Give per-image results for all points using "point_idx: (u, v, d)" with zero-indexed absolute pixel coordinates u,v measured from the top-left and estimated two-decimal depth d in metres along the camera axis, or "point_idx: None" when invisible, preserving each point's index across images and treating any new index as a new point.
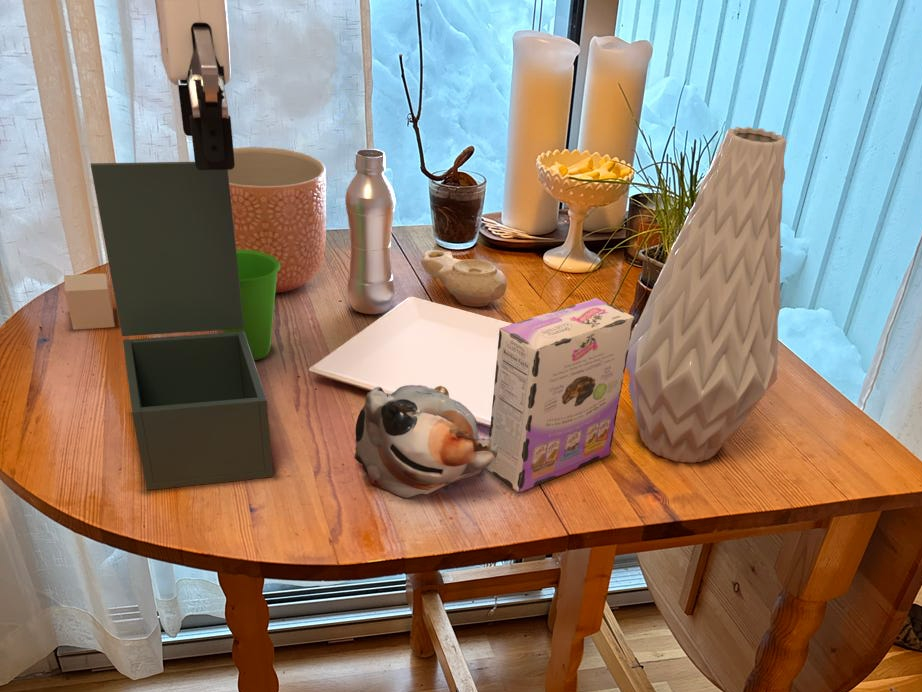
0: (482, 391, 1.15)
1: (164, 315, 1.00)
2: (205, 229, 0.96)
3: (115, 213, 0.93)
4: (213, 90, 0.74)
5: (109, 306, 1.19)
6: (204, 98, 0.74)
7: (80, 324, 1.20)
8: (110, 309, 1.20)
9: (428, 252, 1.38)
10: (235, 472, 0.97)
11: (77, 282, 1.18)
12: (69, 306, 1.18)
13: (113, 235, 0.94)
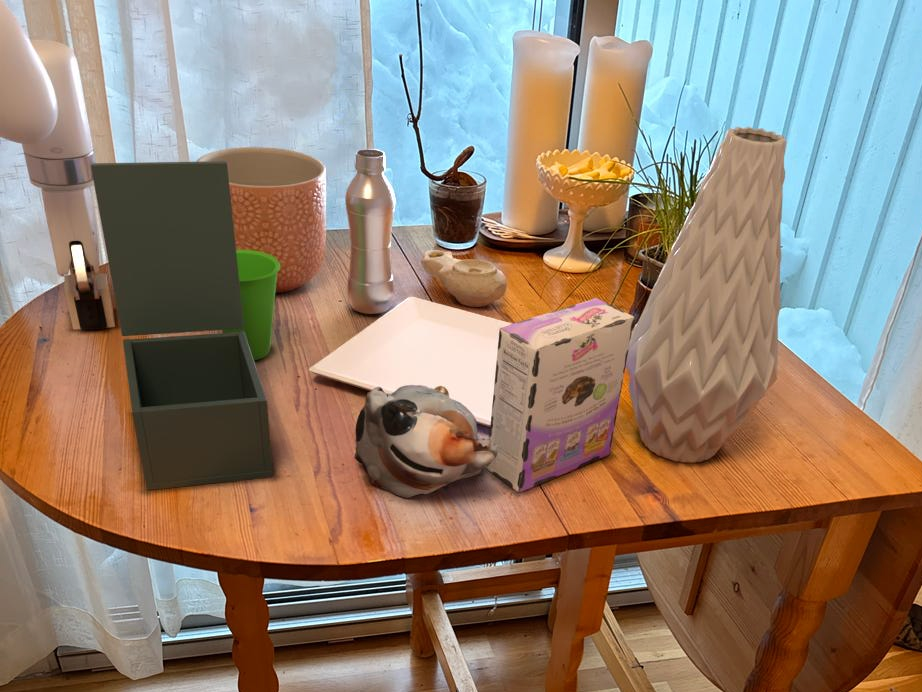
0: (482, 391, 1.15)
1: (164, 315, 1.00)
2: (205, 229, 0.96)
3: (115, 213, 0.93)
4: (86, 290, 1.14)
5: (109, 306, 1.19)
6: (80, 290, 1.14)
7: None
8: (110, 309, 1.20)
9: (428, 252, 1.38)
10: (235, 472, 0.97)
11: None
12: (69, 306, 1.18)
13: (113, 235, 0.94)
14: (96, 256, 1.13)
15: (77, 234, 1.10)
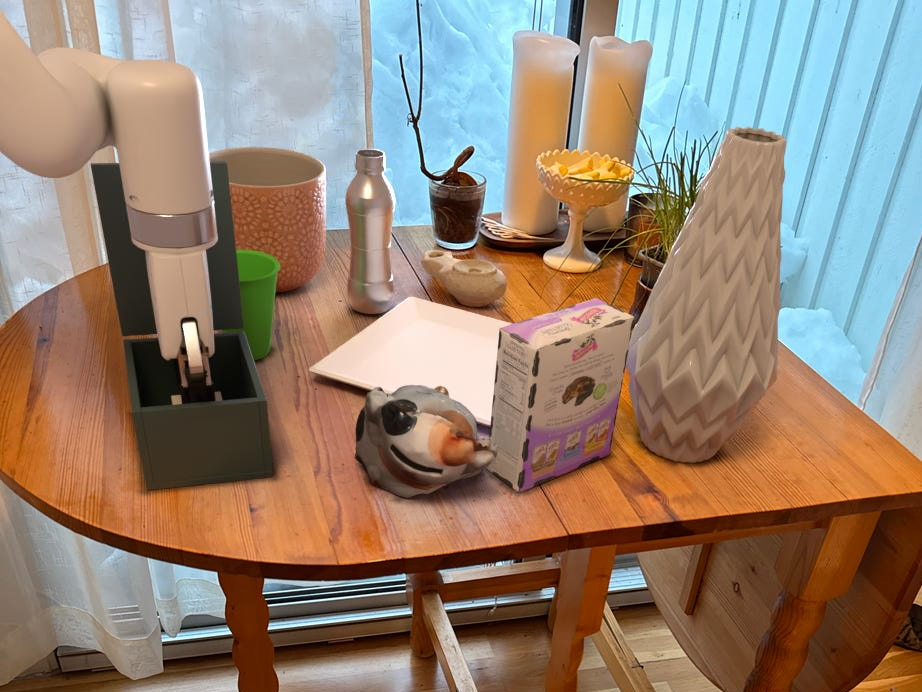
0: (482, 391, 1.15)
1: None
2: None
3: (115, 213, 0.93)
4: (199, 377, 0.88)
5: None
6: (191, 379, 0.89)
7: None
8: None
9: (428, 252, 1.38)
10: (235, 472, 0.97)
11: None
12: None
13: (113, 235, 0.94)
14: (212, 335, 0.88)
15: (191, 309, 0.86)
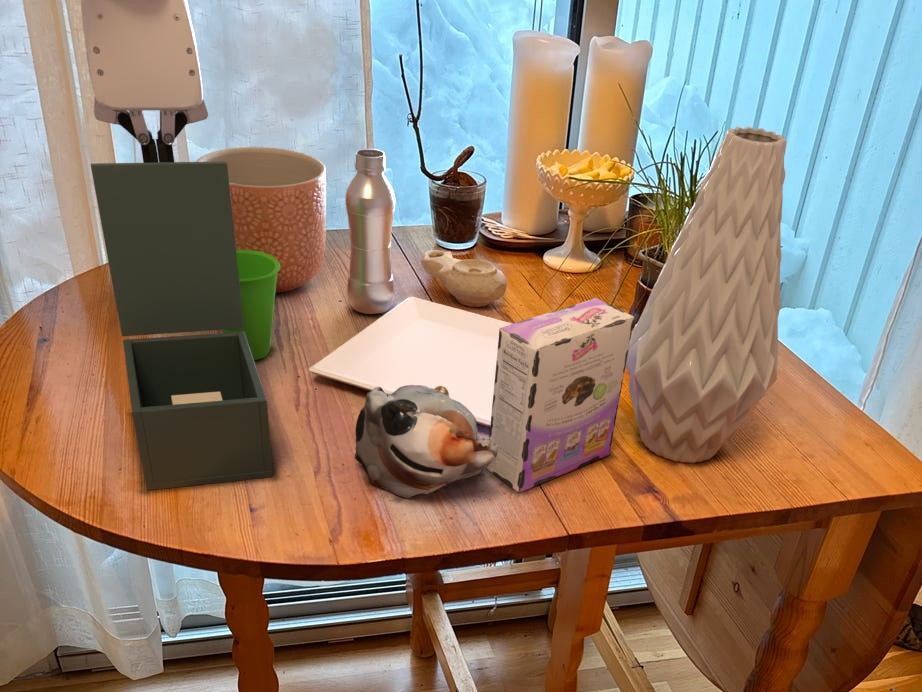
0: (482, 391, 1.15)
1: (164, 315, 1.00)
2: (205, 229, 0.96)
3: (115, 213, 0.92)
4: (113, 122, 0.93)
5: None
6: None
7: None
8: None
9: (428, 252, 1.38)
10: (235, 472, 0.97)
11: None
12: None
13: (113, 235, 0.94)
14: (96, 81, 0.89)
15: (85, 43, 0.88)
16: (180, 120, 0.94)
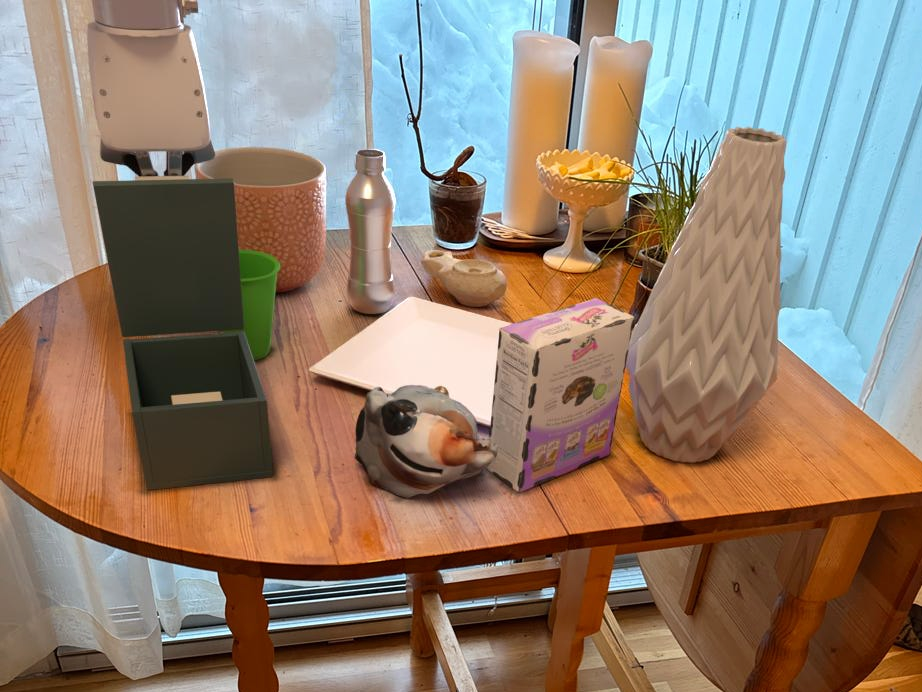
0: (482, 391, 1.15)
1: (165, 319, 0.99)
2: (209, 243, 0.94)
3: (117, 229, 0.90)
4: (120, 163, 0.92)
5: None
6: None
7: None
8: None
9: (428, 252, 1.38)
10: (235, 472, 0.97)
11: None
12: None
13: (115, 248, 0.92)
14: (103, 123, 0.87)
15: (92, 85, 0.87)
16: (187, 160, 0.93)
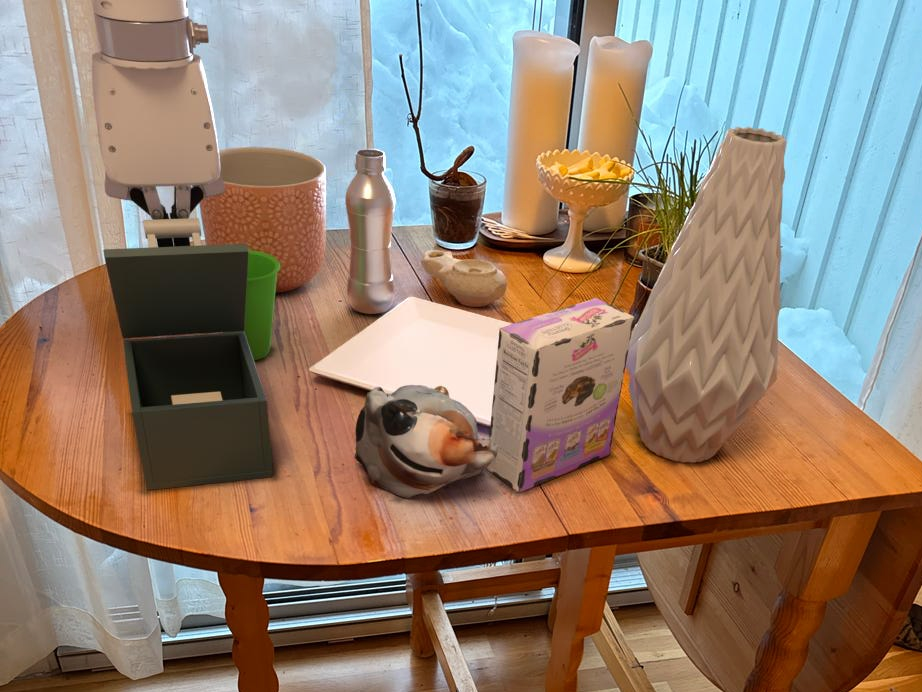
0: (482, 391, 1.15)
1: (166, 327, 0.99)
2: (217, 285, 0.93)
3: (126, 281, 0.89)
4: (125, 198, 0.87)
5: None
6: None
7: None
8: None
9: (428, 252, 1.38)
10: (235, 472, 0.97)
11: None
12: None
13: (122, 291, 0.90)
14: (108, 158, 0.83)
15: (96, 118, 0.82)
16: (196, 195, 0.88)
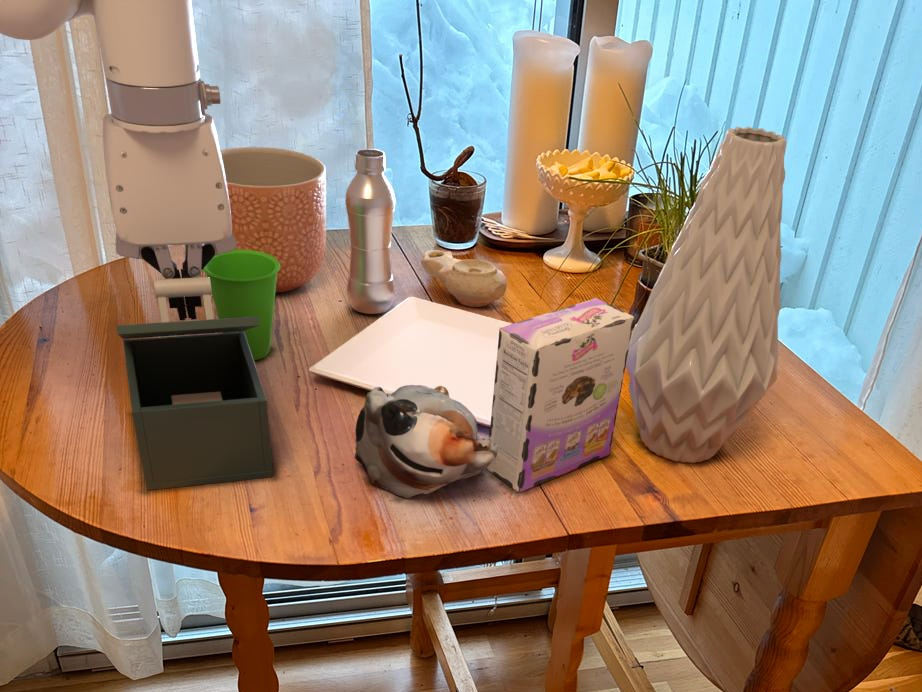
0: (482, 391, 1.15)
1: None
2: None
3: None
4: (136, 257, 0.87)
5: None
6: None
7: None
8: None
9: (428, 252, 1.38)
10: (235, 472, 0.97)
11: None
12: None
13: None
14: (119, 219, 0.83)
15: (107, 179, 0.82)
16: (207, 253, 0.88)
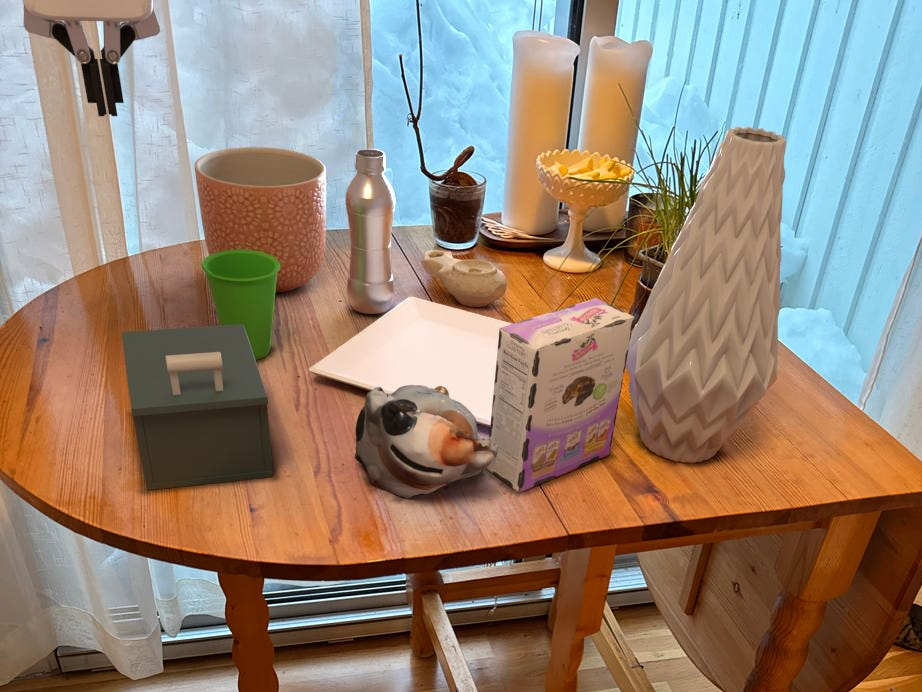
0: (482, 391, 1.15)
1: None
2: None
3: None
4: (47, 36, 0.79)
5: None
6: None
7: None
8: None
9: (428, 252, 1.38)
10: (235, 472, 0.97)
11: None
12: None
13: None
14: None
15: None
16: (126, 35, 0.80)
